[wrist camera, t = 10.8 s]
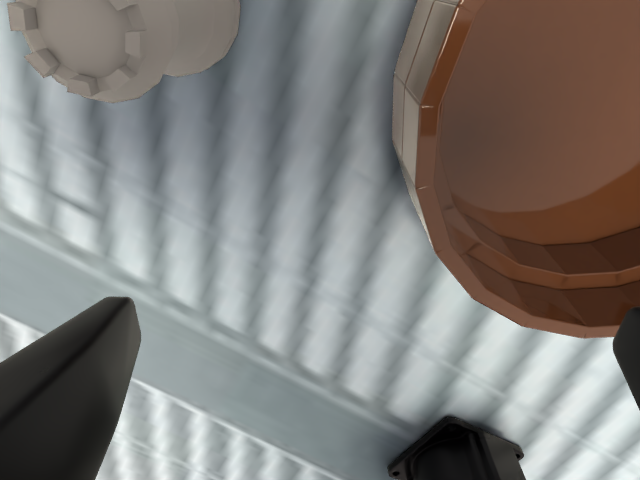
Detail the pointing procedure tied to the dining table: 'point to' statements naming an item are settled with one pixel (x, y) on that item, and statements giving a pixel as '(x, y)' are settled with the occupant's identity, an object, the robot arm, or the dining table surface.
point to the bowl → (527, 154)
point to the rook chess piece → (123, 41)
